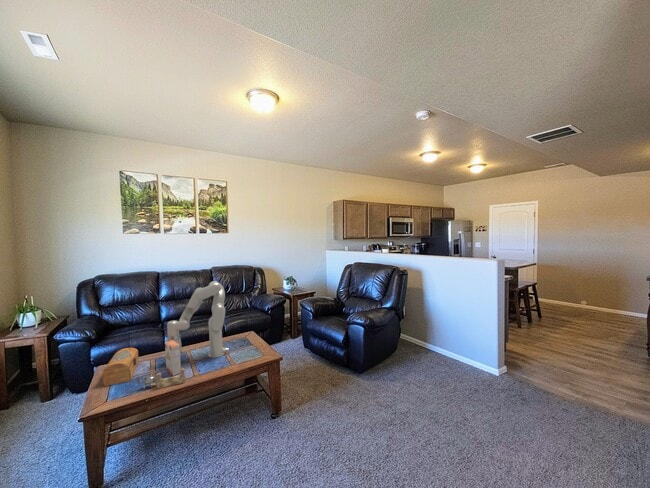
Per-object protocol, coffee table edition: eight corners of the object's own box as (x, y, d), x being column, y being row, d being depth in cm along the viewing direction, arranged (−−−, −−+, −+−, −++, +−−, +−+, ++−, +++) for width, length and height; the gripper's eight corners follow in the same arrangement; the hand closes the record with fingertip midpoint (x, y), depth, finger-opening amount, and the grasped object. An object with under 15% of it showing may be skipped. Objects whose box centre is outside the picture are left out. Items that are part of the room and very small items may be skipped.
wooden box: (132, 381, 188) (131, 361, 187) (102, 387, 181) (101, 366, 180) (141, 362, 215) (140, 345, 215) (115, 367, 208) (114, 349, 208)
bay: (185, 375, 192) (184, 363, 192) (184, 382, 184) (184, 369, 183) (159, 381, 186) (158, 368, 185) (157, 388, 177) (156, 375, 177)
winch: (158, 383, 183) (157, 371, 183) (157, 386, 179) (156, 374, 179) (138, 388, 178) (138, 375, 178) (137, 391, 174) (136, 378, 174)
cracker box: (165, 370, 202) (164, 341, 201) (174, 367, 206) (173, 339, 205) (172, 376, 192) (170, 346, 191) (181, 373, 196) (180, 344, 196)
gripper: (184, 334, 218) (185, 357, 218) (162, 337, 211) (163, 361, 212) (184, 337, 211) (185, 360, 211) (161, 340, 205) (162, 365, 205)
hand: (174, 360), depth 212 cm, fingers closed
